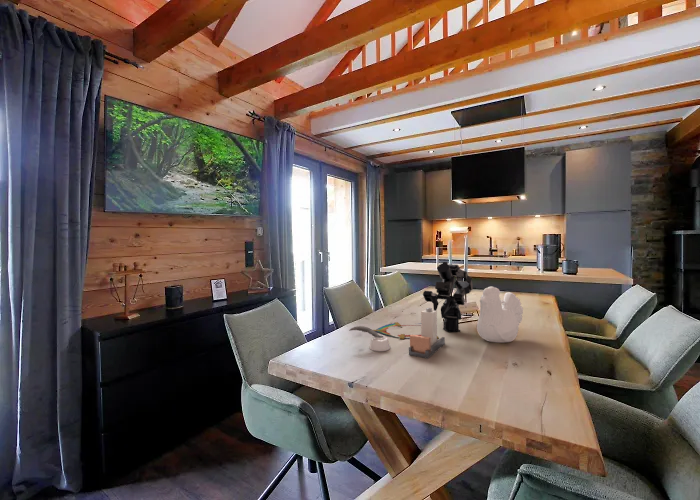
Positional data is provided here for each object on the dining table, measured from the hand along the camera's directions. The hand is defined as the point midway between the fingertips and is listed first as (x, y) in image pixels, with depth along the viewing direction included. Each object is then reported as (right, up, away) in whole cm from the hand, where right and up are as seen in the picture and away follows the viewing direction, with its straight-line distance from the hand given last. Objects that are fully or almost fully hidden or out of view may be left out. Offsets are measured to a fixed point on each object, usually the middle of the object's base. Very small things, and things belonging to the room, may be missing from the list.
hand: (439, 312), depth 149 cm
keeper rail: (-8, -13, -11) cm, 19 cm away
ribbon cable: (-14, -13, +17) cm, 25 cm away
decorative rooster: (+29, -12, -2) cm, 31 cm away
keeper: (-7, -11, -10) cm, 17 cm away
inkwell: (-32, -14, -9) cm, 36 cm away
